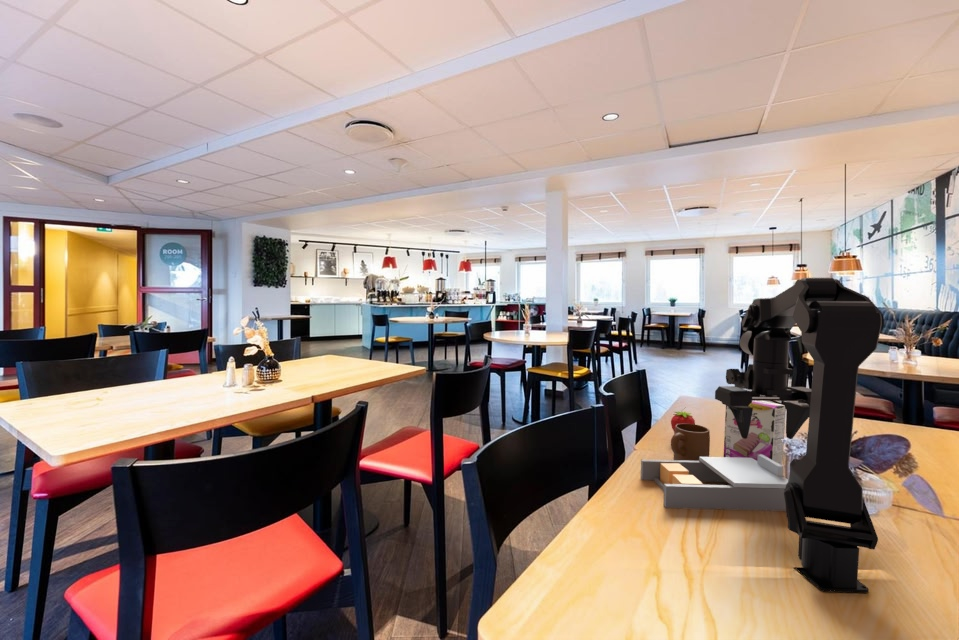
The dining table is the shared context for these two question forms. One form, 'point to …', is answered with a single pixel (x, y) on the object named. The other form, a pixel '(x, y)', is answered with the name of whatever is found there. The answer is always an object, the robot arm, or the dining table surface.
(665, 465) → the orange cube
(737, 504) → the housing
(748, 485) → the lid
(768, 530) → the dining table surface
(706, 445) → the mug
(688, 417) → the strawberry
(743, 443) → the candy bar box
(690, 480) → the orange block
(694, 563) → the dining table surface
